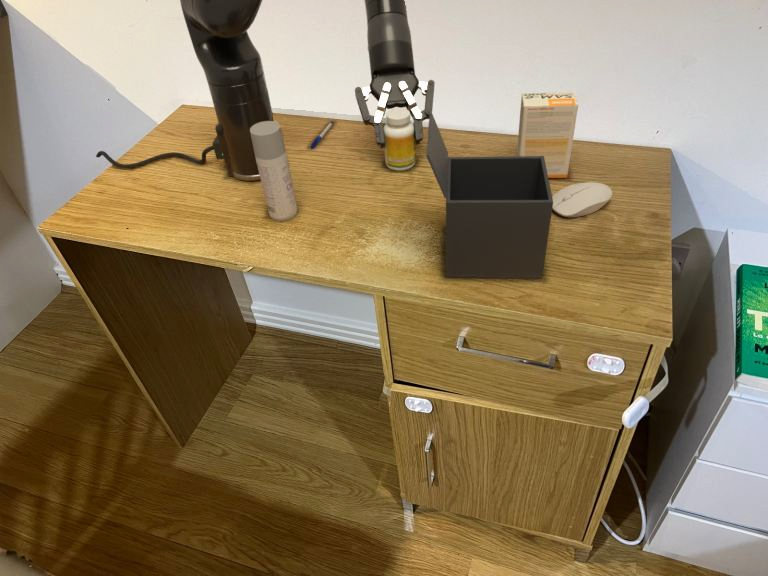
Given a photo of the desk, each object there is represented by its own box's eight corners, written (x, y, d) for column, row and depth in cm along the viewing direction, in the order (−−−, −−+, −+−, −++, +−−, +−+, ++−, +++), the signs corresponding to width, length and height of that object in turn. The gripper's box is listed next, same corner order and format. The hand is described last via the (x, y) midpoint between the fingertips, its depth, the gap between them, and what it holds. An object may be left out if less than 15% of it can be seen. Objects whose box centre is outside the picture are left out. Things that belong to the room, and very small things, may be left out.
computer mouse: (541, 204, 93) (543, 187, 91) (594, 187, 95) (597, 171, 93) (563, 223, 89) (566, 207, 87) (618, 206, 91) (622, 190, 89)
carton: (445, 277, 82) (445, 202, 73) (446, 230, 90) (447, 156, 81) (541, 279, 80) (553, 202, 72) (534, 230, 88) (544, 155, 80)
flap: (446, 197, 73) (444, 198, 73) (448, 152, 81) (446, 153, 81) (428, 154, 69) (426, 155, 69) (431, 112, 77) (429, 113, 77)
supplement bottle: (381, 160, 106) (377, 110, 100) (408, 153, 107) (406, 103, 101) (392, 174, 102) (388, 123, 96) (420, 167, 104) (418, 116, 97)
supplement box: (563, 164, 101) (575, 90, 92) (567, 179, 98) (579, 104, 89) (514, 164, 102) (521, 91, 93) (516, 179, 99) (523, 105, 90)
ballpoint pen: (314, 150, 111) (313, 145, 111) (310, 149, 112) (309, 144, 111) (333, 124, 119) (333, 119, 118) (329, 123, 119) (329, 119, 118)
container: (298, 218, 94) (281, 133, 84) (269, 223, 94) (248, 137, 84) (297, 202, 98) (280, 118, 88) (269, 206, 98) (249, 122, 87)
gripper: (347, 42, 97) (357, 143, 97) (433, 34, 98) (444, 134, 97) (349, 62, 105) (359, 155, 104) (429, 54, 105) (440, 147, 104)
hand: (400, 144), depth 100 cm, fingers closed on supplement bottle, 5 cm apart
